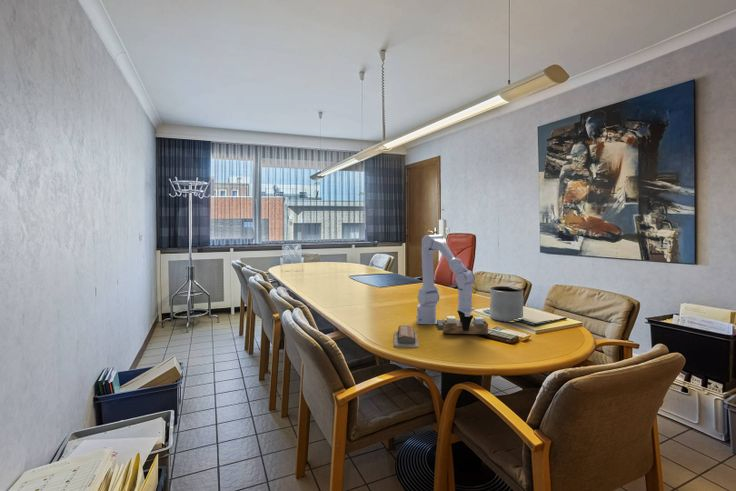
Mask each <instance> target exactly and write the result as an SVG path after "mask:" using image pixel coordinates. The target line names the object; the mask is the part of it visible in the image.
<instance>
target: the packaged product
mask: <svg viewBox="0 0 736 491" xmlns="http://www.w3.org/2000/svg"><path fill="white" fill-rule="evenodd" d="M393 334H394V336H393V337H394V338H393V347H394V348H414V349H415V348H416V349H417V348H419V340H418V336H417V332H416V331H415V329H414V326H412V325H410V324H409V325H403V324H402V325H398V329H397V330H396V331H394V332H393Z"/></svg>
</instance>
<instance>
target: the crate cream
mask: <svg viewBox="0 0 736 491" xmlns="http://www.w3.org/2000/svg"><path fill="white" fill-rule="evenodd" d="M446 320H447V323H452V324H456V320H457V318H456V316H455V315H446Z"/></svg>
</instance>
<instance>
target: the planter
mask: <svg viewBox="0 0 736 491" xmlns="http://www.w3.org/2000/svg"><path fill="white" fill-rule="evenodd" d="M489 291H490V292H489V295H490V297H489V316H490V318H491V319H493V320H494V321H497V322H502V321H504V322H503V323H508V322H507V321H512V320H514V319H518V318H522V317H523V318H524V289H523V288H520V287H515V286H507V285H504V286H503V285H501V286H500V285H499V286H492V287H490V290H489Z"/></svg>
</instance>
